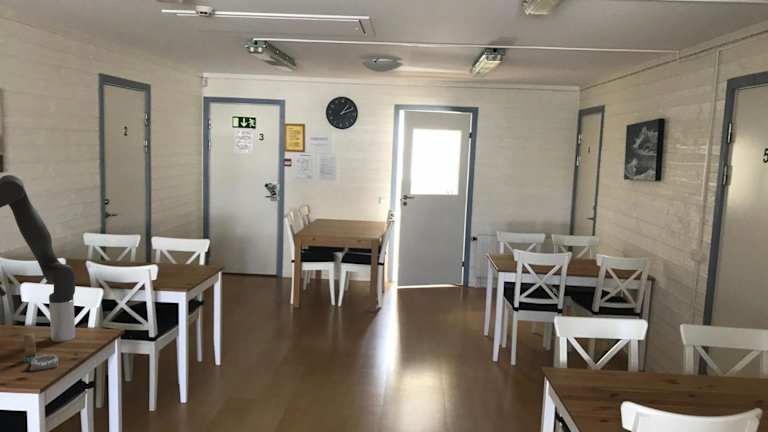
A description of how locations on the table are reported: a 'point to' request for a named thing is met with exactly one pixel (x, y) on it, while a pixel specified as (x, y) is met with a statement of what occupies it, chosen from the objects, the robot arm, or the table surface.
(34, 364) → the carrier plate
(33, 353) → the brown round piece
